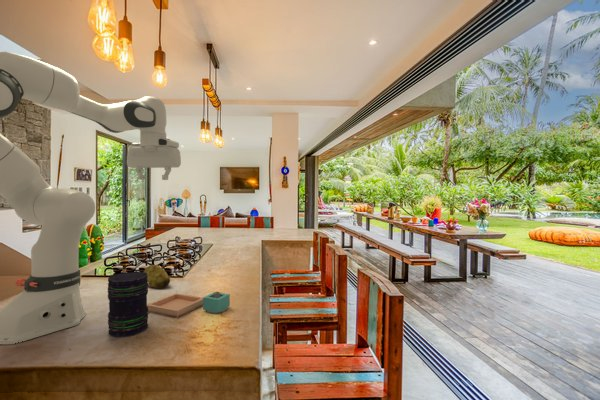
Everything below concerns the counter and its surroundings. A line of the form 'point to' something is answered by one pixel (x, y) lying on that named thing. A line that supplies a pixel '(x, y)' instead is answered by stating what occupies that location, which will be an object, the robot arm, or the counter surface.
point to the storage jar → (127, 304)
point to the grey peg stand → (216, 295)
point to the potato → (157, 276)
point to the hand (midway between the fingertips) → (153, 179)
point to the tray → (175, 305)
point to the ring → (216, 302)
